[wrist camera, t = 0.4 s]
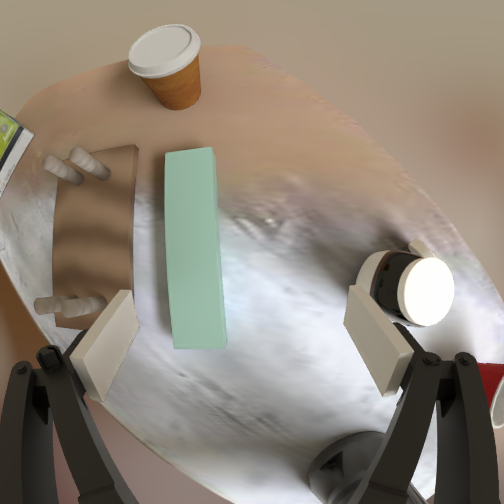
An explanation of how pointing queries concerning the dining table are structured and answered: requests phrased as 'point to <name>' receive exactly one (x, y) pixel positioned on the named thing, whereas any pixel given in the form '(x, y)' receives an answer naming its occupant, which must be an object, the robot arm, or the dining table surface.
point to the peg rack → (91, 234)
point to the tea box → (11, 146)
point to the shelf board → (194, 250)
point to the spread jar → (409, 284)
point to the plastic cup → (494, 390)
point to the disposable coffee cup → (169, 64)
